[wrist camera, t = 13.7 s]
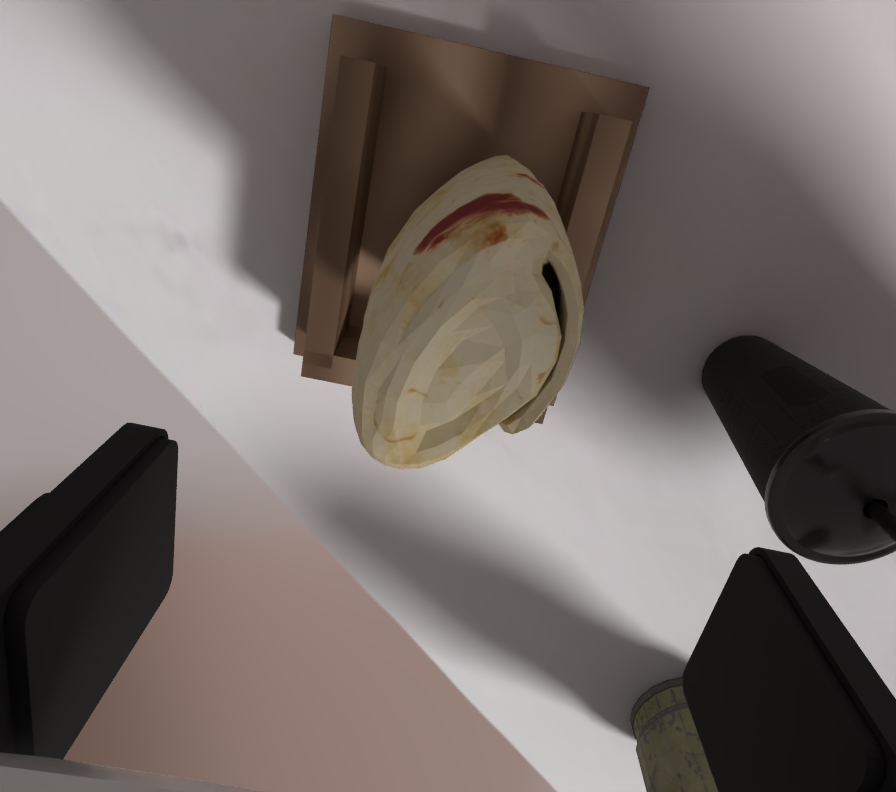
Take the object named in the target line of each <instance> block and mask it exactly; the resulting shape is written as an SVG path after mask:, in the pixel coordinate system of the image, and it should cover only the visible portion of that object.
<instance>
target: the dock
mask: <svg viewBox="0 0 896 792" xmlns="http://www.w3.org/2000/svg"><path fill="white" fill-rule="evenodd" d="M649 88H650V87H645V86H641V85H637V84H632V83H628V82H624V81H619V80H615V79H611V78H606V77H602V76H598V75H593V74H589V73H585V72H580V71H576V70H572V69H567V68H563V67H559V66H555V65H550V64H546V63H542V62H537V61H533V60H529V59H524V58H520V57H516V56H511V55H507V54H503V53H498V52H494V51H490V50H485V49H481V48H477V47H472V46H468V45H464V44H459V43H455V42H451V41H446V40H442V39H438V38H433V37H429V36H425V35H420V34H416V33H412V32H407V31H403V30H399V29H394V28H390V27H386V26H381V25H377V24H373V23H369V22H364V21H360V20H356V19H351V18H347V17H343V16H338V15H334V14H333V16H332V25H331V34H330V42H329V51H328V59H327V68H326V77H325V85H324V94H323V103H322V111H321V120H320V129H319V137H318V146H317V154H316V163H315V172H314V180H313V189H312V198H311V206H310V215H309V224H308V232H307V241H306V249H305V258H304V267H303V275H302V284H301V293H300V301H299V310H298V319H297V327H296V336H295V344H294V353H293V354H296V355H301V356H303V364H302V372H301V376H303V377H308V378H313V379H318V380H323V381H328V382H333V383H338V384H343V385H348V386H352V383H353V376H354V370H355V363H356V356H357V350H358V343H359V339H360V336H361V332H362V328H363V321H364V316H365V312H366V309H367V305H368V301H369V297H370V294H371V291H372V288H373V285H374V283H375V280H376V278H377V275H378V273H379V270H380V268H381V265H382V263H383V260H384V258H385V255H386V253H387V250H388V248H389V247H390V245H391V244H392V242H393V241H394V240H395V238H396V237H397V235H398V234H399V233H400V231H401V230H402V228H403V227H404V225H405V224H406V223H407V221H408V220H409V218H410V217H411V215H412V214H413V212H414V211H415V210H416V209H417V208H418V207H419V206H420V205H421V204H422V203H423V202H425V201H426V200H427V199H428V198H429V197H430V196H431V195H432V194H434V193H435V192H436V191H437V190H438V189H439V188H440V187H441V186H443V185H444V184H445V183H446V182H448V181H449V180H450V179H452V178H453V177H454V176H456V175H457V174H458V173H460V172H461V171H462V170H464V169H466V168H468V167H471V166H473V165H475V164H477V163H479V162H481V161H484V160H486V159H489V158H492V157H494V156H503V155H508V156H510V157H511V158H513V159H515V160H516V161H518V162H519V163H520V164H521V165H523V166H525V167H527V168H528V169H529V170H530V171H531V172H532V173H533V175H534V176H535V177H536V179H537V180H538V181H539V182H540V183H541V184H543V186H544V187H545V189H546V190H547V192H548V193H549V195H550V197H551V198H552V200H553V201H554V203H555V206H556V208H557V211H558V213H559V215H560V218H561V220H562V223H563V226H564V228H565V231H566V234H567V237H568V239H569V242H570V245H571V248H572V252H573V255H574V259H575V262H576V266H577V270H578V273H579V277H580V281H581V288H582V297H583V306H584V303H585V300H586V297H587V294H588V290H589V287H590V284H591V280H592V277H593V274H594V270H595V267H596V264H597V260H598V257H599V254H600V250H601V247H602V244H603V241H604V237H605V234H606V231H607V227H608V224H609V221H610V217H611V214H612V211H613V207H614V204H615V201H616V197H617V194H618V191H619V188H620V184H621V181H622V178H623V174H624V171H625V168H626V164H627V161H628V158H629V154H630V151H631V148H632V144H633V141H634V138H635V135H636V131H637V128H638V125H639V121H640V118H641V115H642V111H643V108H644V105H645V101H646V98H647V95H648V91H649ZM556 396H557V395H556ZM556 396H555V397H554V399H553V400H552V401H551V403H550V404H549V405H551V406H554V403H555V400H556ZM546 410H547V408H546V409H545V411H544V412H543V413H542V415H541V416H540V417H539V418H538V419H537V420H536V421H535V423H540V424H543V420H544V417H545V414H546Z"/></svg>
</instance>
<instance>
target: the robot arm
mask: <svg viewBox="0 0 896 792" xmlns="http://www.w3.org/2000/svg"><path fill="white" fill-rule="evenodd" d="M177 464H178V445H177V442H176V441H174V440H169V439H168V434H167V431H166V430H165V429H160V428H155V427H150V426H145V425H140V424H135V423H126V424H125V425H123V426H122V427H121V428H120V429H119V430H118V431H117V432H116V433H115V434H113V435H112V436H111V437H110V438H109V439H108V440H107V441H106V442H105V443H104V444H103V445H101V446H100V447H99V448H98V449H97V450H96V451H95V452H94V453H93V454H92V455H91V456H89V457H88V458H87V459H86V460H85V461H84V462H83V463H82V464H81V465H80V466H79V467H77V468H76V469H75V470H74V471H73V472H72V473H71V474H70V475H69V476H68V477H67V478H65V479H64V480H63V481H62V482H61V483H60V484H59V485H58V486H57V487H56V488H55V489H54V490H52V491H51V492H50V493H45V494H43V495H42V496H40V497H39V498H37V499H36V500H35V501H34V502H32V503H31V504H30V505H29V506H28V507H27V508H26V509H25V510H24V511H23V512H22V513H20V514H19V515H18V516H17V517H16V518H15V519H14V520H13V521H11V522H10V523H9V524H8V525H7V526H6V527H5V528H4V529H3V530H2V531H0V792H265V791H259V790H253V789H247V788H241V787H235V786H229V785H223V784H217V783H211V782H205V781H199V780H194V779H188V778H182V777H175V776H168V775H161V774H156V773H149V772H142V771H136V770H129V769H122V768H115V767H108V766H102V765H95V764H89V763H82V762H76V761H69V760H63V758H64V757H65V755H66V754H67V752H68V750H69V749H70V747H71V746H72V744H73V743H74V741H75V739H76V738H77V736H78V735H79V733H80V731H81V730H82V728H83V727H84V725H85V723H86V722H87V720H88V719H89V717H90V715H91V714H92V712H93V711H94V709H95V708H96V706H97V704H98V703H99V701H100V700H101V698H102V696H103V695H104V693H105V692H106V690H107V688H108V687H109V685H110V684H111V682H112V681H113V679H114V677H115V676H116V674H117V673H118V671H119V669H120V668H121V666H122V665H123V663H124V661H125V660H126V658H127V657H128V655H129V653H130V652H131V650H132V649H133V647H134V646H135V644H136V642H137V641H138V639H139V638H140V636H141V634H142V633H143V631H144V630H145V628H146V627H147V625H148V623H149V622H150V620H151V619H152V617H153V615H154V614H155V612H156V611H157V609H158V607H159V606H160V604H161V603H162V601H163V599H164V598H165V596H166V594H167V592H168V590H169V587H170V584H171V580H172V576H173V558H174V536H175V512H176V489H177V488H176V487H177ZM682 684H683V692H684V695H685V698H686V701H687V704H688V707H689V710H690V712H691V715H692V718H693V721H694V724H695V727H696V730H697V732H698V735H699V738H700V741H701V744H702V747H703V750H704V753H705V755H706V758H707V761H708V764H709V767H710V770H711V773H712V775H713V778H714V781H715V784H716V787H717V790H718V792H896V699H895V697H894V696H893V695H892V693H891V692H890V690H889V689H888V687H887V686H886V685H885V683H884V682H883V680H882V679H881V677H880V676H879V675H878V673H877V672H876V670H875V669H874V667H873V666H872V665H871V663H870V662H869V660H868V659H867V657H866V656H865V655H864V653H863V652H862V650H861V649H860V647H859V646H858V645H857V643H856V642H855V640H854V639H853V637H852V636H851V635H850V633H849V632H848V630H847V629H846V627H845V626H844V625H843V623H842V622H841V620H840V619H839V617H838V616H837V615H836V613H835V612H834V610H833V609H832V607H831V606H830V605H829V603H828V602H827V600H826V599H825V597H824V596H823V595H822V593H821V592H820V590H819V589H818V587H817V586H816V585H815V583H814V582H813V580H812V579H811V577H810V576H809V575H808V573H807V572H806V570H805V569H804V567H803V566H802V565H801V563H800V562H799V560H798V559H797V558H796V557H795V556H794V555H792V554H790V553H785V552H780V551H775V550H770V549H765V548H760V547H757V548H754V549H752V550H751V551H750V552H749V554H742V555H741V556H740V557H739V558H738V559H737V561H736V563H735V565H734V567H733V569H732V572H731V574H730V576H729V578H728V580H727V582H726V584H725V586H724V588H723V590H722V592H721V595H720V597H719V599H718V601H717V603H716V605H715V607H714V609H713V611H712V613H711V615H710V618H709V620H708V622H707V624H706V626H705V628H704V630H703V632H702V634H701V636H700V638H699V640H698V643H697V645H696V647H695V649H694V651H693V653H692V655H691V657H690V659H689V661H688V663H687V666H686V668H685V670H684V674H683V683H682Z"/></svg>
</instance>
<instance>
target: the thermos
mask: <svg viewBox="0 0 896 792" xmlns="http://www.w3.org/2000/svg"><path fill="white" fill-rule="evenodd" d="M682 683H683V678H677V679H672V680H668V681H665V682H663V683H661V684H659V685H656V686H654V687H652V688H651V689H650V690H648V691H647V692H646V693H645V694H643V695H642V696H641V697H640V698H639V700H638V701H637V703H636V704H635V706H634V707H633V710H632V715H631V724H632V728H633V732H634V736H635V739H636V740H637V747H636V752H637V756H638V759H639V763H640V767H641V771H642V775H643V779H644V783H645V787H646V790H647V792H718V790H717V787H716V784H715V781H714V778H713V775H712V773H711V770H710V767H709V764H708V761H707V758H706V755H705V753H704V750H703V747H702V744H701V741H700V738H699V735H698V732H697V730H696V727H695V724H694V721H693V718H692V715H691V712H690V710H689V707H688V704H687V701H686V698H685V695H684V692H683V684H682Z"/></svg>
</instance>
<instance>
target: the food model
mask: <svg viewBox="0 0 896 792" xmlns="http://www.w3.org/2000/svg"><path fill="white" fill-rule="evenodd" d="M583 314H584V306H583V297H582V288H581V281H580V277H579V273H578V270H577V266H576V262H575V259H574V255H573V252H572V248H571V245H570V242H569V239H568V237H567V234H566V231H565V228H564V226H563V223H562V220H561V218H560V215H559V213H558V211H557V208H556V206H555V203H554V201H553V200H552V198H551V197H550V195H549V193H548V192H547V190H546V189H545V187H544V186H543V184H541V183H540V182H539V181H538V180H537V179H536V177H535V176H534V175H533V173H532V172H531V171H530V170H529V169H528V168H527V167H525V166H523V165H521V164H520V163H519V162H518V161H516V160H515V159H513V158H511V157H510V156H508V155H503V156H494V157H492V158H489V159H486V160H484V161H481V162H479V163H477V164H475V165H473V166H471V167H468V168H466V169H464V170H462V171H461V172H460V173H458V174H457V175H456V176H454V177H453V178H452V179H450V180H449V181H448V182H446V183H445V184H444V185H443V186H441V187H440V188H439V189H438V190H437V191H436V192H435V193H434V194H432V195H431V196H430V197H429V198H428V199H427V200H426V201H425V202H423V203H422V204H421V205H420V206H419V207H418V208H417V209H416V210H415V211H414V212H413V214H412V215H411V217H410V218H409V220H408V221H407V223H406V224H405V225H404V227H403V228H402V230H401V231H400V233H399V234H398V235H397V237H396V238H395V240H394V241H393V242H392V244H391V245H390V247H389V248H388V250H387V253H386V255H385V258H384V260H383V263H382V265H381V268H380V270H379V273H378V275H377V278H376V280H375V283H374V285H373V288H372V291H371V294H370V297H369V301H368V305H367V309H366V312H365V316H364V321H363V328H362V332H361V336H360V339H359V343H358V350H357V356H356V363H355V370H354V376H353V383H352V404H353V415H354V422H355V427H356V430H357V433H358V436H359V439H360V442H361V444H362V445H363V447H364V448H365V449H366V451H367V452H368V453H369V454H370V456H371V457H372V458H374V459H375V460H377V461H379V462H380V463H382V464H384V465H386V466H391V467H395V468H400V469H410V468H422V467H425V466H428V465H430V464H433V463H436V462H439V461H441V460H444V459H446V458H448V457H449V456H451V455H452V454H454V453H455V452H456V451H458V450H459V449H461V448H462V447H464V446H465V445H467V444H468V443H470V442H471V441H473V440H474V439H476V438H477V437H479V436H480V435H482V434H483V433H485V432H486V431H488V430H489V429H491V428H492V427H494V426H496V425H497V424H499V425H500V426H501V427H502V429H503V430H504V432H507V433H510V434H515V433H517V432H520V431H522V430H525V429H527V428H529V427H530V426H531V425H532V424H533V423H534V422H535V421H536V420H537V419H538V418H539V417H540V416H541V415H542V413H543V412H544V411H545V409H546V408H547V407H548V405H549V404H550V403H551V401H552V400H553V399H554V397H555V396H556V395H557V393H558V392H559V390H560V389H561V388H562V386H563V385H564V384H565V382H566V379H567V376H568V374H569V371H570V368H571V366H572V363H573V360H574V358H575V355H576V352H577V350H578V347H579V344H580V338H581V330H582V322H583Z"/></svg>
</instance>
